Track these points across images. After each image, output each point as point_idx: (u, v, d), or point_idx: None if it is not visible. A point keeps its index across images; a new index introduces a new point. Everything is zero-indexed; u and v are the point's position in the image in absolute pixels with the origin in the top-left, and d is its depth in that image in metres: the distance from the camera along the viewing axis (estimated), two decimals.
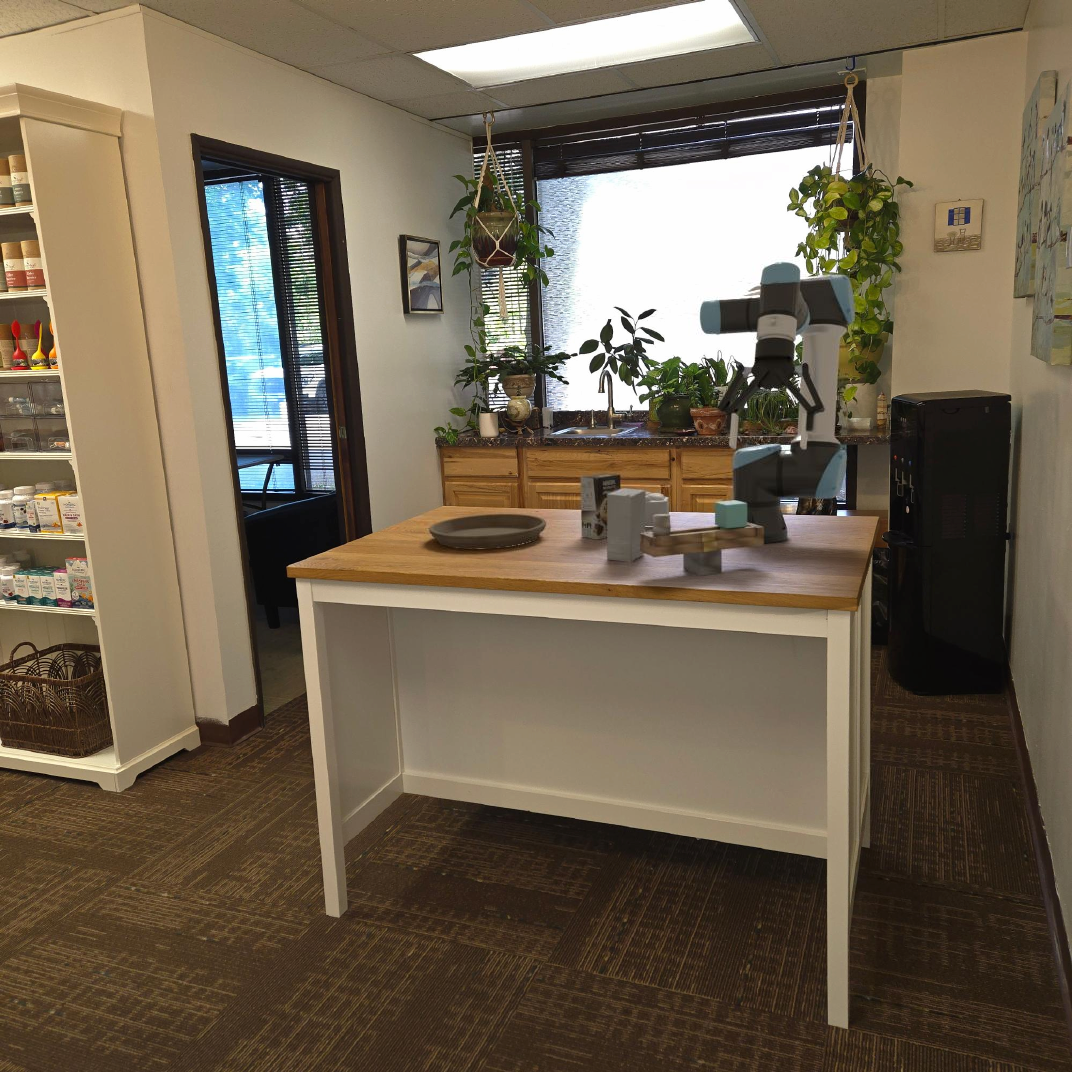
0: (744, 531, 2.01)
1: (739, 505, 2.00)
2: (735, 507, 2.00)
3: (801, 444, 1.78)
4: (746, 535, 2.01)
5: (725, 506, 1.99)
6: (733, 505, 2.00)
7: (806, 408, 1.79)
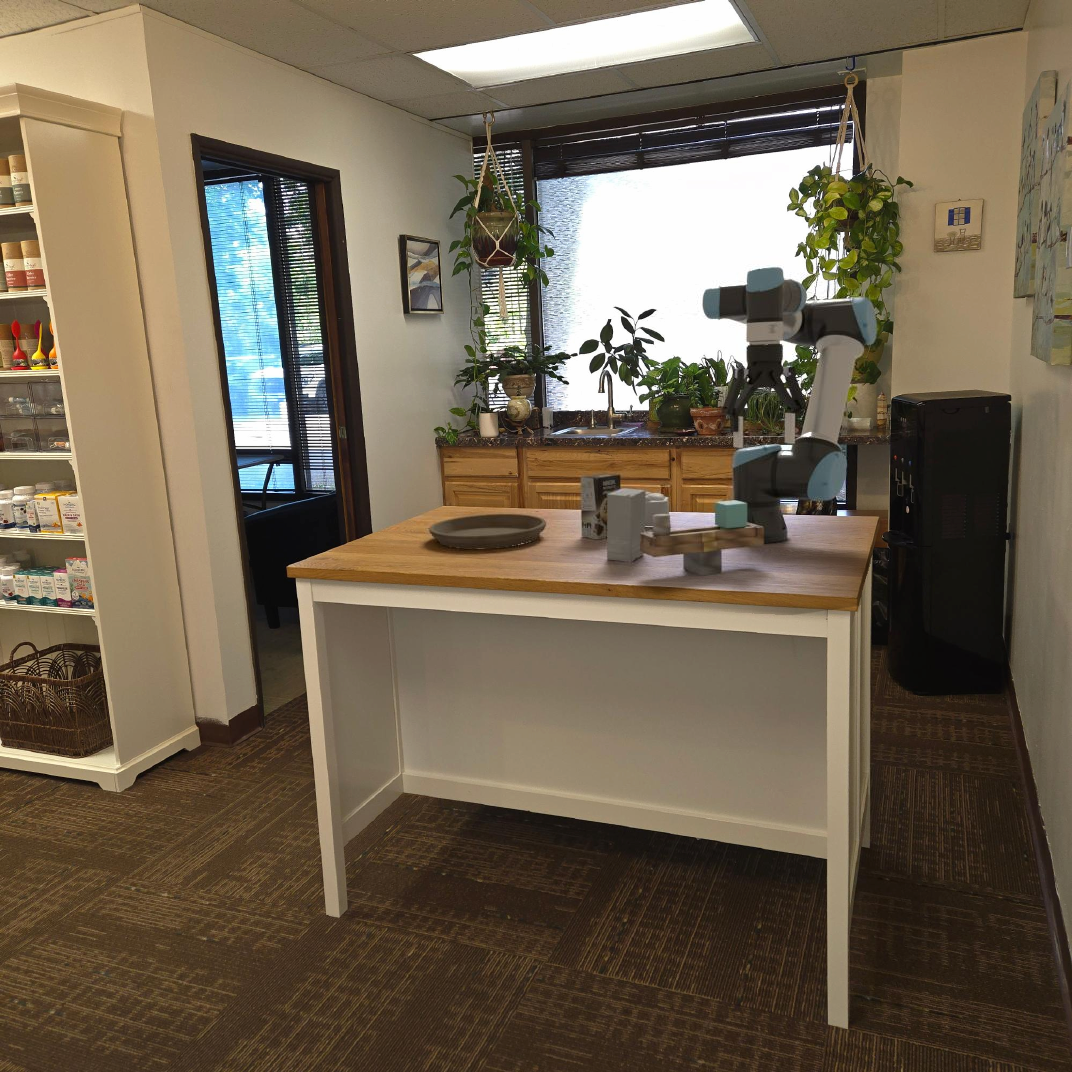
0: (744, 531, 2.01)
1: (739, 505, 2.00)
2: (735, 507, 2.00)
3: (792, 442, 2.03)
4: (746, 535, 2.01)
5: (725, 506, 1.99)
6: (733, 505, 2.00)
7: (794, 408, 2.02)
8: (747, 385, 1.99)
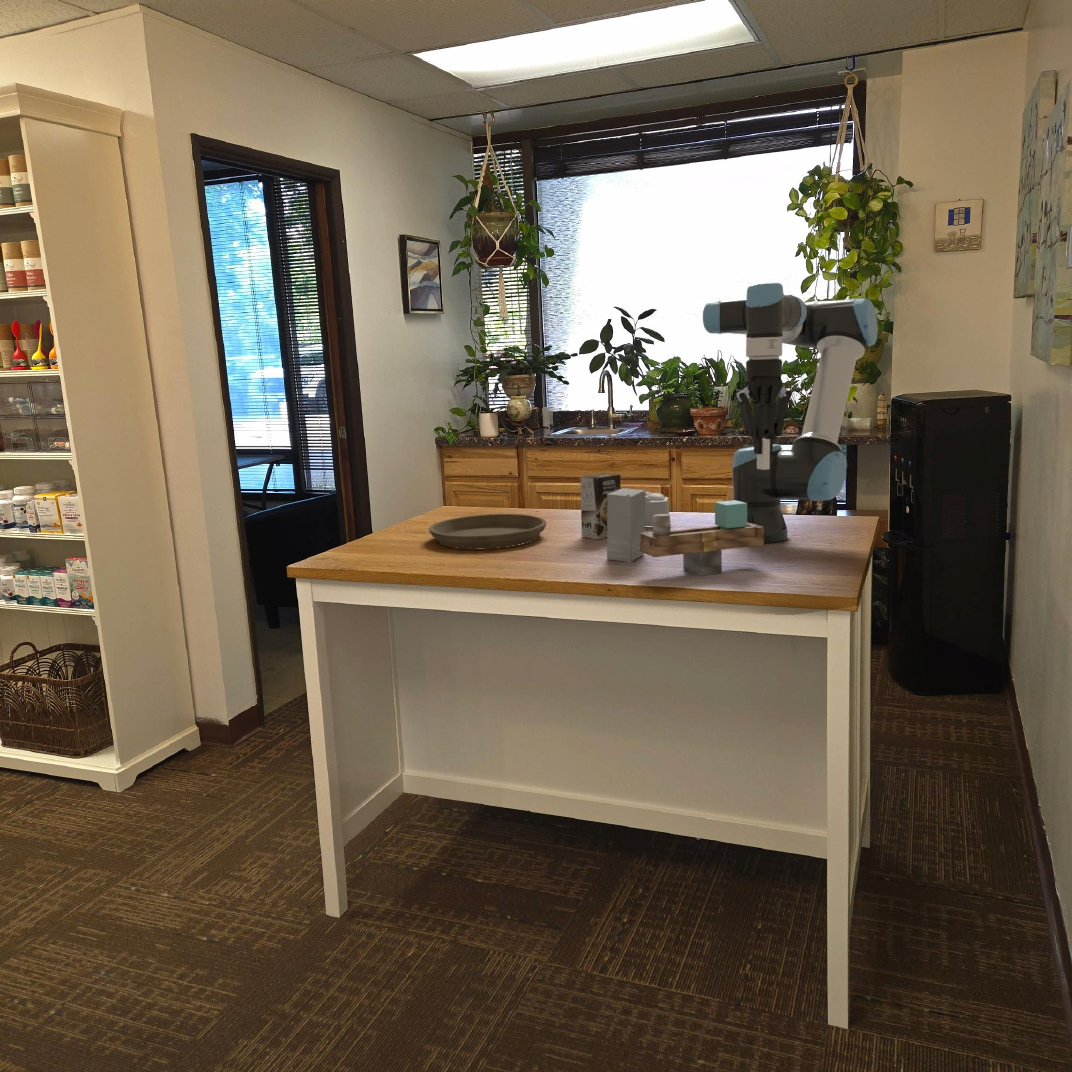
0: (744, 531, 2.01)
1: (739, 505, 2.00)
2: (735, 507, 2.00)
3: (767, 467, 2.02)
4: (746, 535, 2.01)
5: (725, 506, 1.99)
6: (733, 505, 2.00)
7: (770, 433, 2.01)
8: (754, 404, 2.01)
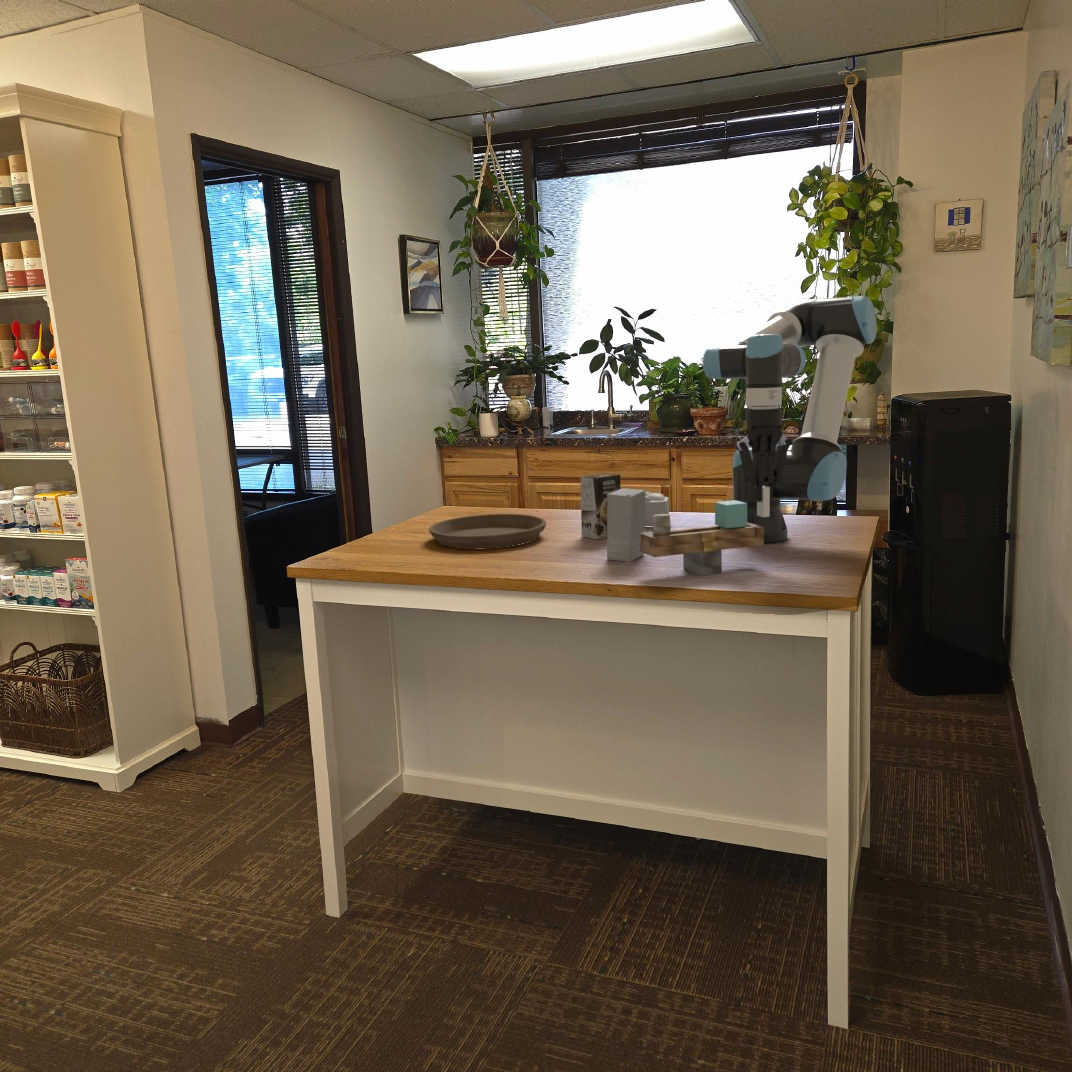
0: (744, 531, 2.01)
1: (739, 505, 2.00)
2: (735, 507, 2.00)
3: (767, 515, 2.04)
4: (746, 535, 2.01)
5: (725, 506, 1.99)
6: (733, 505, 2.00)
7: (770, 481, 2.03)
8: (754, 452, 2.03)
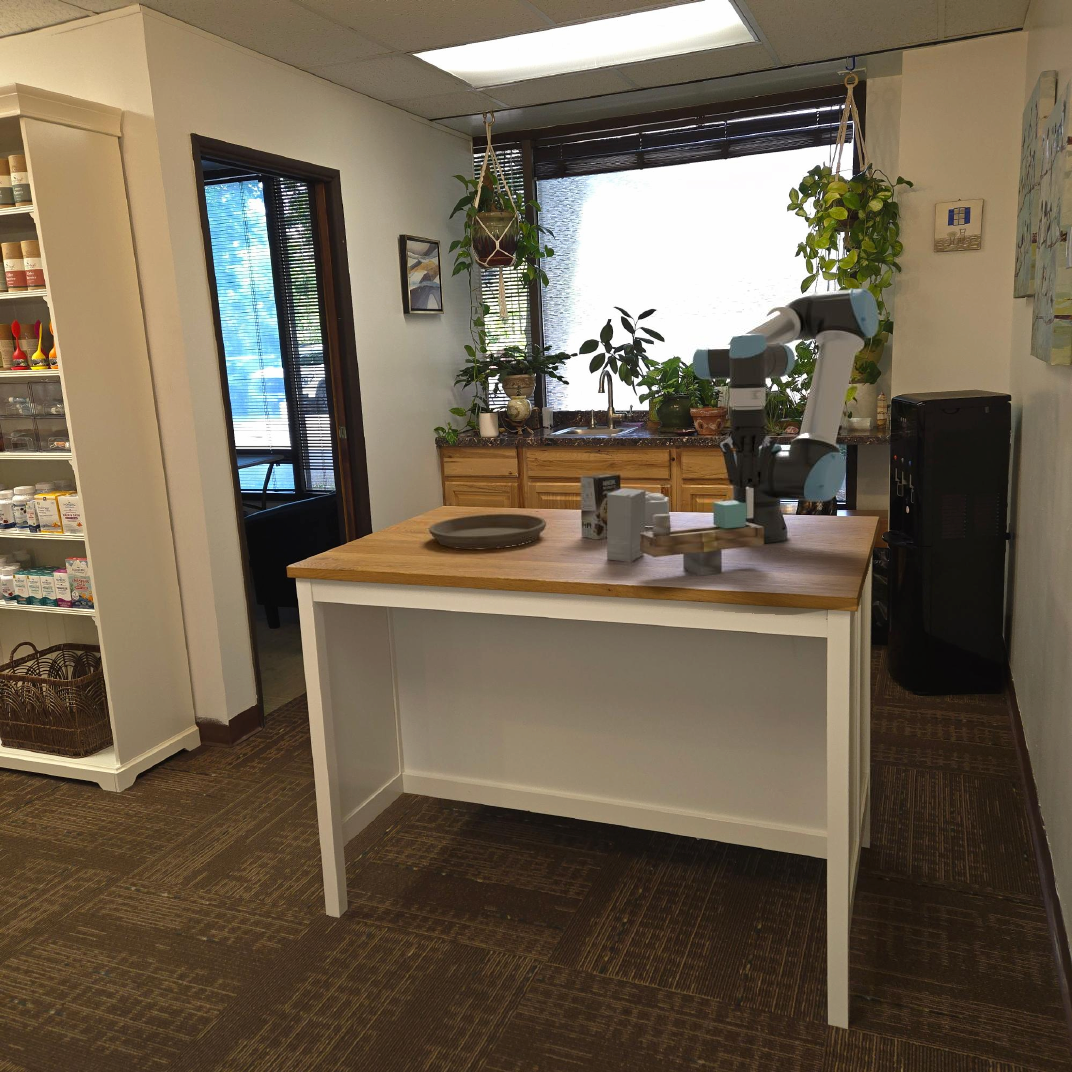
0: (744, 531, 2.01)
1: (738, 505, 2.00)
2: (733, 508, 2.00)
3: (751, 516, 2.03)
4: (746, 535, 2.01)
5: (723, 506, 1.99)
6: (731, 505, 2.00)
7: (753, 482, 2.02)
8: (738, 453, 2.01)
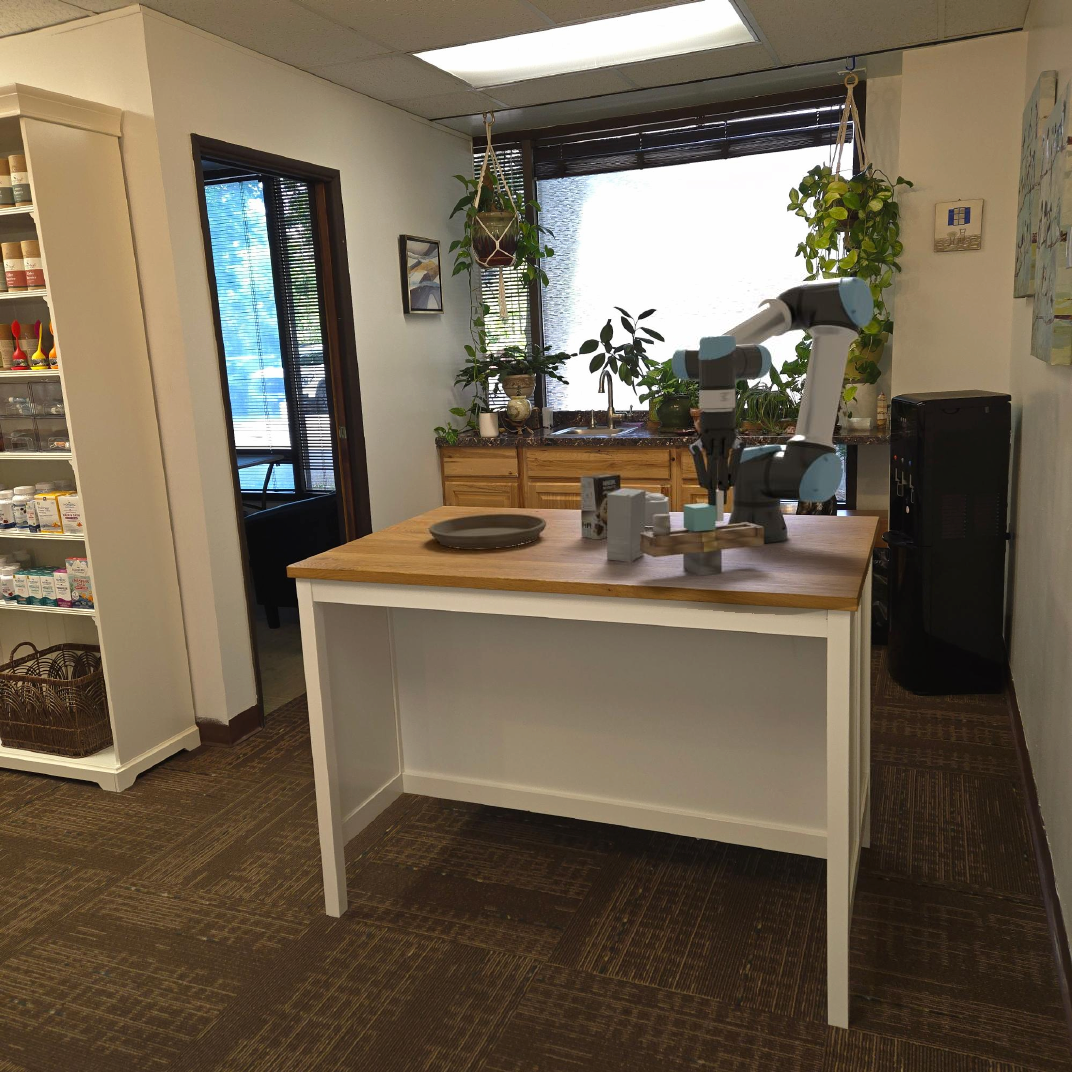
0: (744, 531, 2.01)
1: (707, 508, 1.98)
2: (703, 511, 1.98)
3: (721, 519, 2.00)
4: (746, 535, 2.01)
5: (693, 509, 1.97)
6: (701, 508, 1.97)
7: (724, 484, 1.99)
8: (707, 456, 1.99)
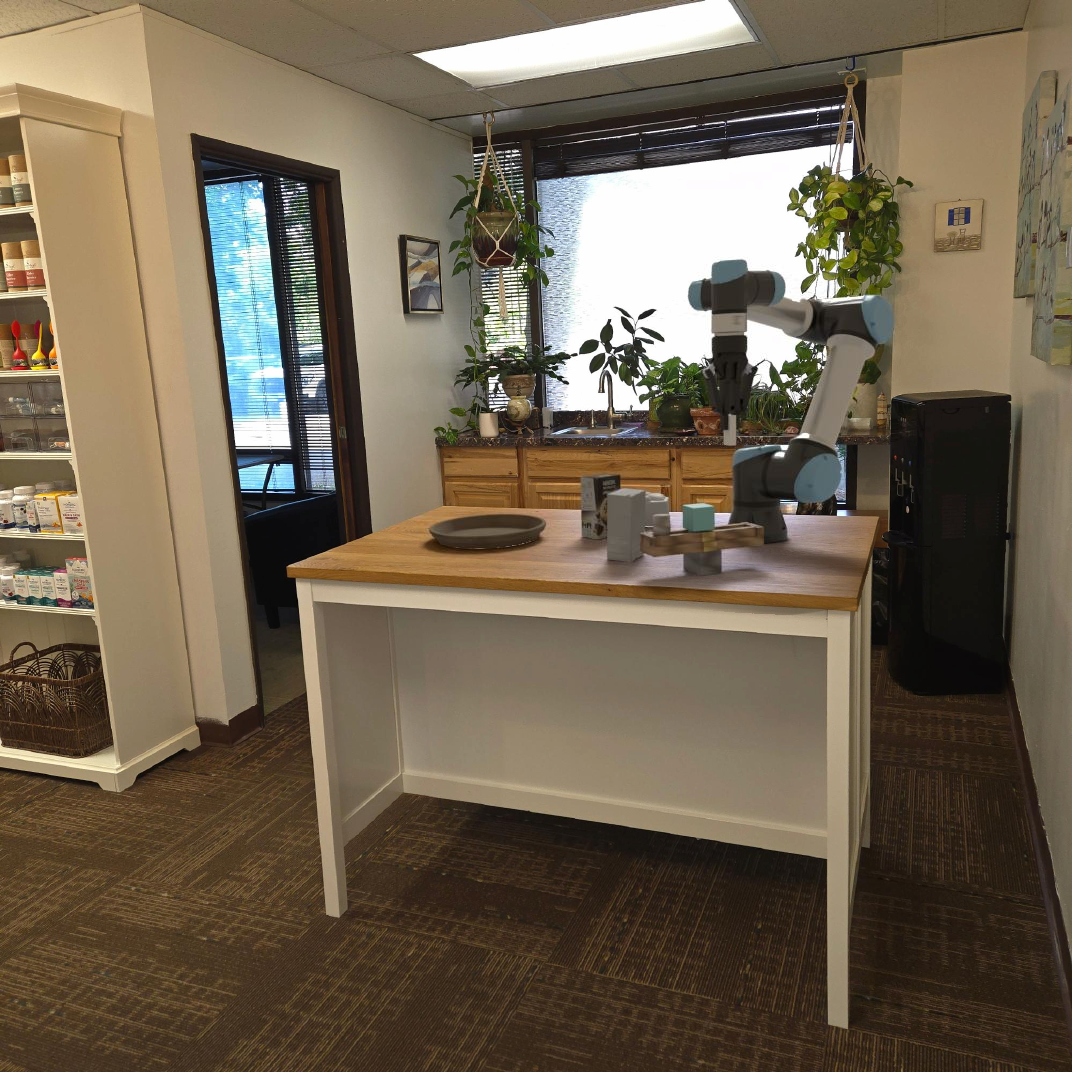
0: (744, 531, 2.01)
1: (706, 508, 1.98)
2: (702, 511, 1.98)
3: (734, 443, 2.03)
4: (746, 535, 2.01)
5: (692, 509, 1.97)
6: (700, 508, 1.97)
7: (736, 409, 2.02)
8: (720, 380, 2.02)
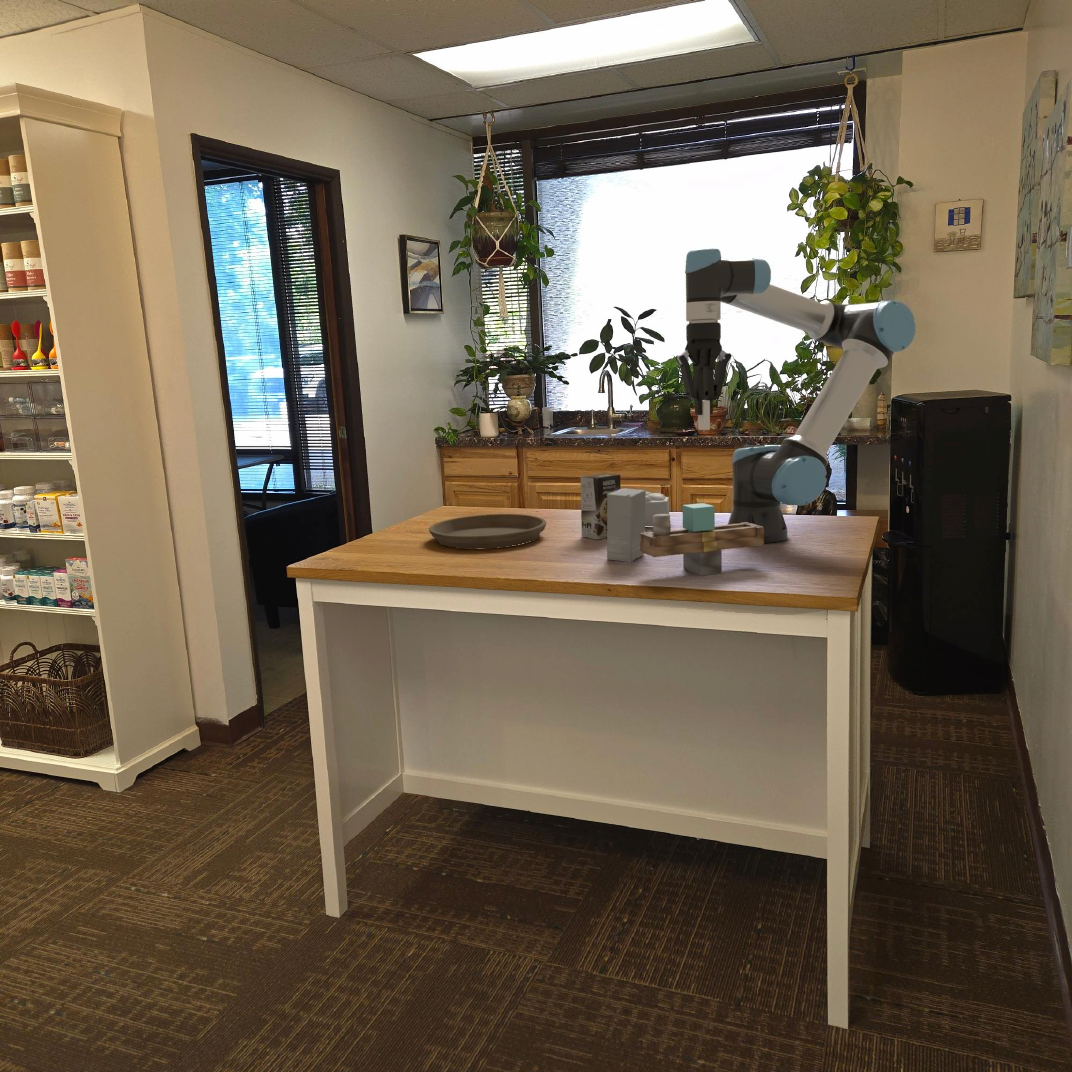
0: (744, 531, 2.01)
1: (706, 508, 1.98)
2: (702, 511, 1.98)
3: (707, 428, 2.09)
4: (746, 535, 2.01)
5: (692, 509, 1.97)
6: (700, 508, 1.97)
7: (710, 394, 2.08)
8: (694, 367, 2.08)
